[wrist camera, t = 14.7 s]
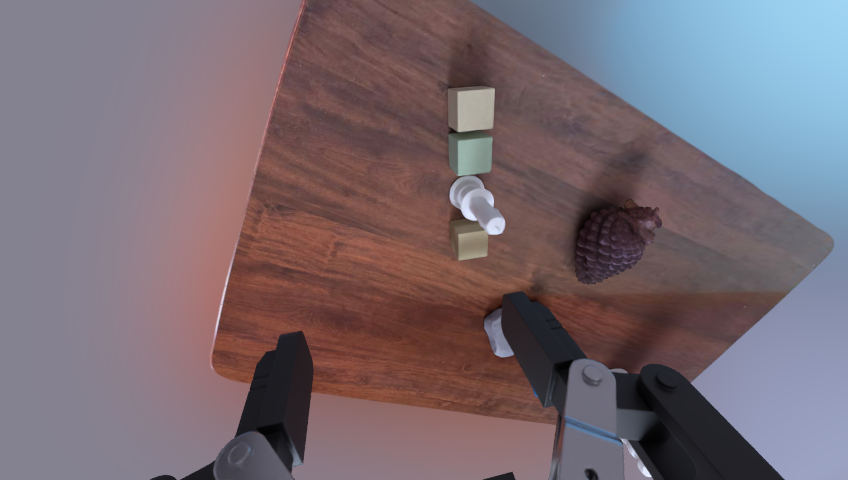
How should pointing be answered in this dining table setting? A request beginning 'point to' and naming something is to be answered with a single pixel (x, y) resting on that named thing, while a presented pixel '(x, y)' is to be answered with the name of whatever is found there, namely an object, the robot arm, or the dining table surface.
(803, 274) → the dining table surface
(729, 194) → the dining table surface
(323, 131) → the dining table surface
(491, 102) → the block
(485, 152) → the block
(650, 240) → the pine cone
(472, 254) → the block
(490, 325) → the stone block
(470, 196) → the candle
